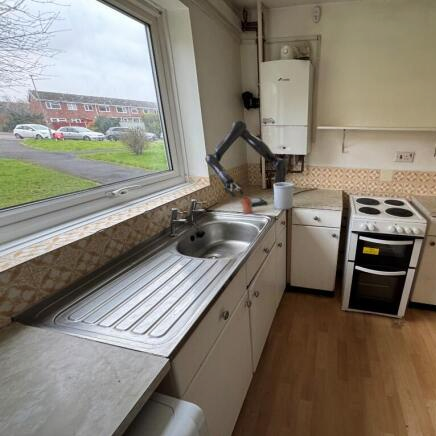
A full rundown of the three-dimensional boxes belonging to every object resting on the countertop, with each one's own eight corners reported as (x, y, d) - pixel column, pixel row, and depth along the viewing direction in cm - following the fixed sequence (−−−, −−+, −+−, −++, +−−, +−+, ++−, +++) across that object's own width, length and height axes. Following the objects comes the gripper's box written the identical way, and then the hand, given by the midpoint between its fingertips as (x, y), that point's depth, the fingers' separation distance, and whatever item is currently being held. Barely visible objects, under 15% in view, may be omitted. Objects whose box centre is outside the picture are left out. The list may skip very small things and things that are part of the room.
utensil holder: (297, 207, 173) (297, 184, 167) (280, 211, 166) (279, 187, 160) (287, 203, 185) (287, 181, 179) (270, 206, 177) (269, 183, 172)
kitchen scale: (260, 200, 194) (260, 197, 193) (267, 204, 182) (267, 201, 181) (241, 203, 186) (241, 199, 185) (247, 207, 175) (247, 203, 174)
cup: (250, 210, 168) (249, 196, 164) (253, 212, 163) (252, 198, 159) (242, 211, 165) (240, 198, 162) (244, 214, 160) (243, 200, 156)
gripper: (220, 175, 157) (234, 194, 155) (234, 173, 168) (248, 190, 167) (215, 182, 161) (229, 200, 159) (230, 179, 173) (243, 196, 171)
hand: (239, 195), depth 163 cm, fingers open, 8 cm apart
